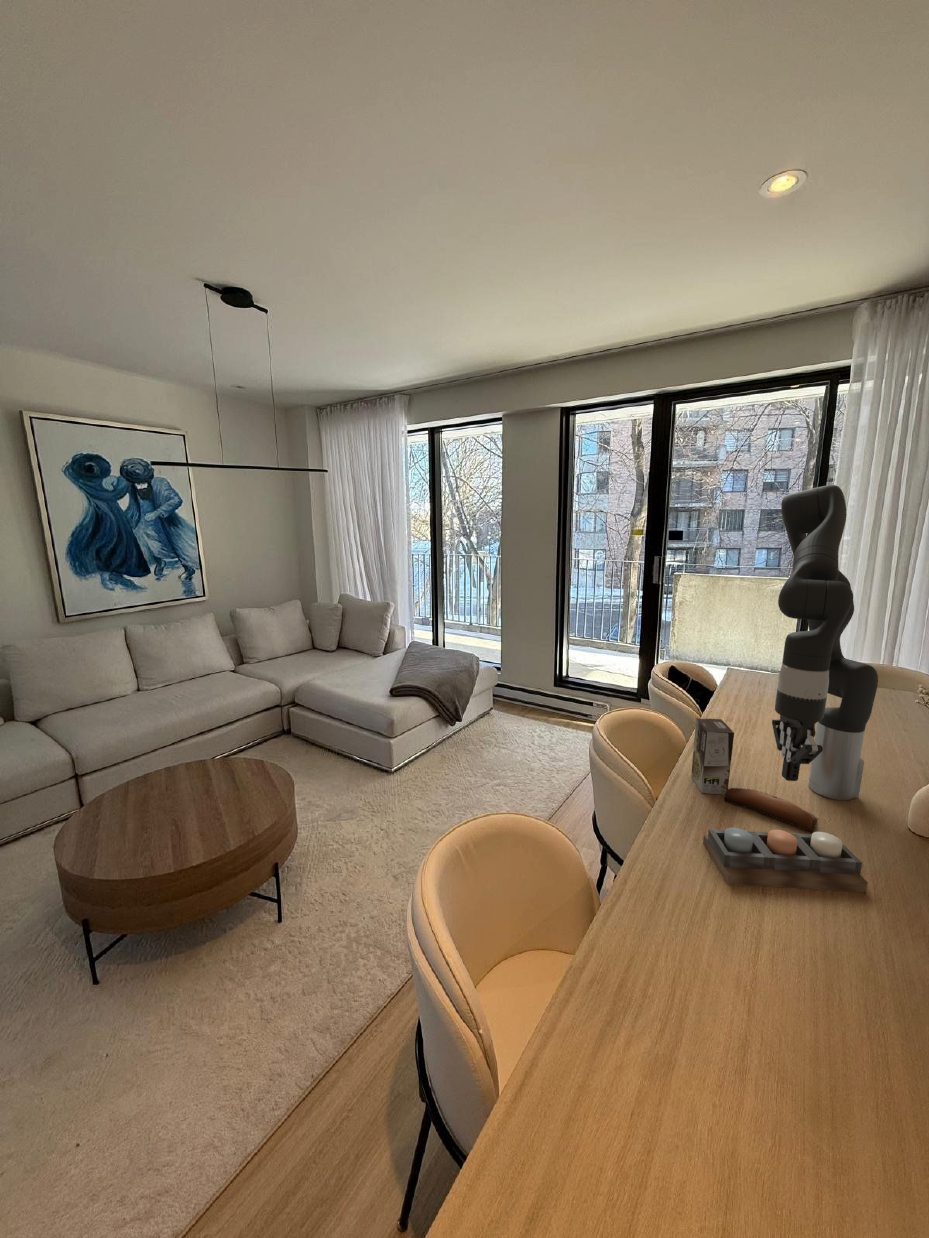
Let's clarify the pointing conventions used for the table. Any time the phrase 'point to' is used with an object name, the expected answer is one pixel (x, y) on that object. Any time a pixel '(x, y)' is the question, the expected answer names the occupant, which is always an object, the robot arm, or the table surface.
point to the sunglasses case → (772, 807)
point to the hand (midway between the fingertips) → (789, 778)
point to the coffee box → (712, 755)
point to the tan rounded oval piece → (781, 843)
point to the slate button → (738, 840)
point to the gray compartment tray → (785, 865)
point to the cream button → (826, 845)
